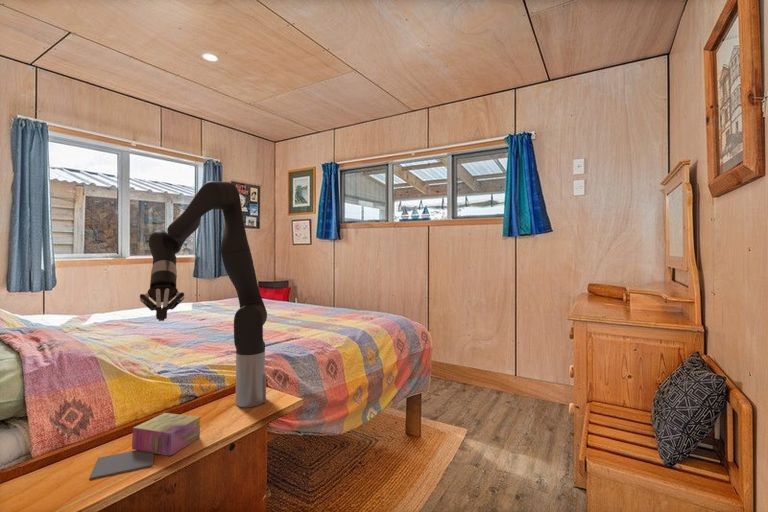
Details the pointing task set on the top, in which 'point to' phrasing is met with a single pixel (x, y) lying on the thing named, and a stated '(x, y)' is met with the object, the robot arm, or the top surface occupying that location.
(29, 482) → the top surface
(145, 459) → the mat
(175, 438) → the box
